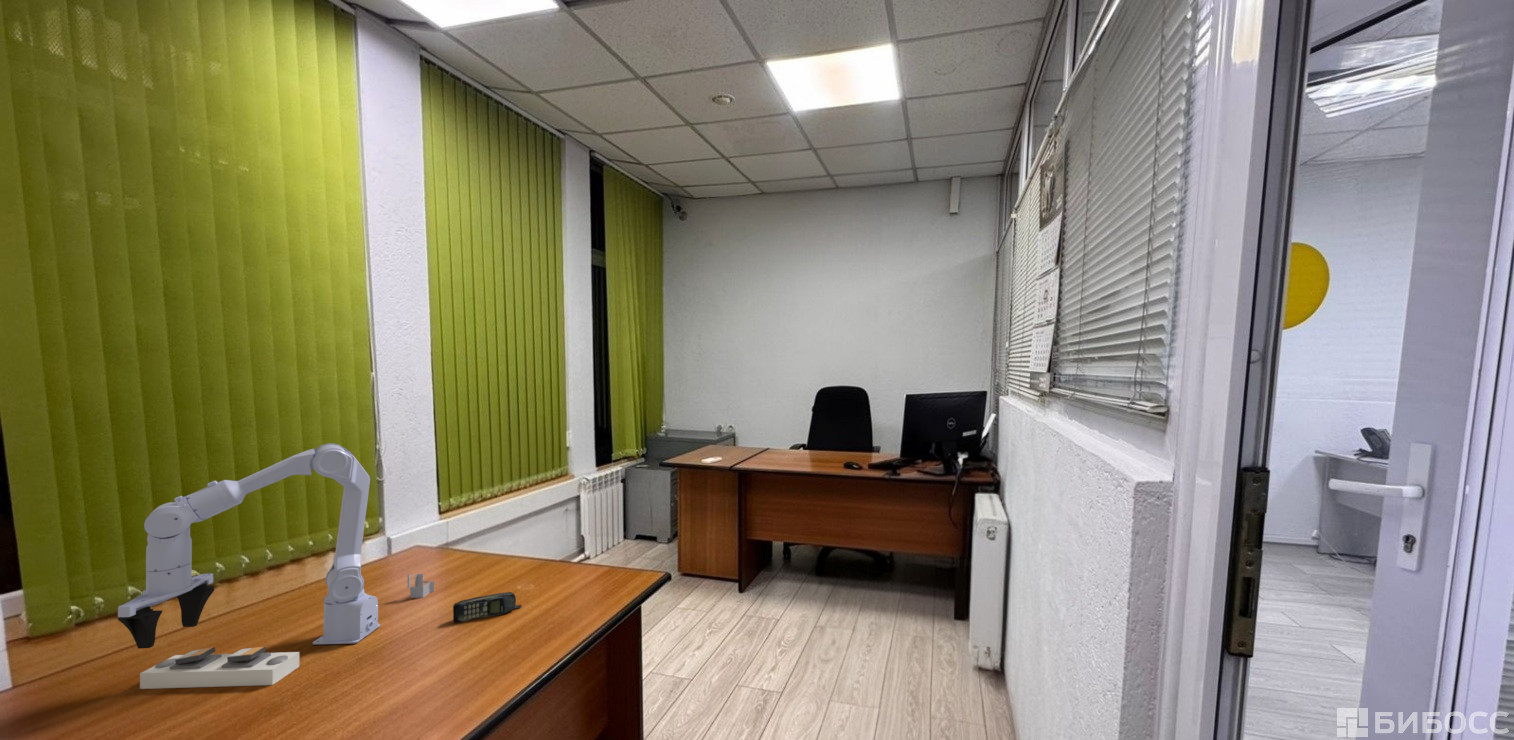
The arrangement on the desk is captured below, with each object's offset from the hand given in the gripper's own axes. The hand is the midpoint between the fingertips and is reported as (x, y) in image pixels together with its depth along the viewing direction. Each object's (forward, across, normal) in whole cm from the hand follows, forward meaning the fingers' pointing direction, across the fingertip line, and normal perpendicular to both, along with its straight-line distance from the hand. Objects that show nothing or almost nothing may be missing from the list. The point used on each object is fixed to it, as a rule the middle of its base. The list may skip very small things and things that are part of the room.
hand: (168, 636), depth 96 cm
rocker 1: (+5, -2, +3) cm, 6 cm away
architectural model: (+10, -40, +20) cm, 46 cm away
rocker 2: (+5, -2, +12) cm, 14 cm away
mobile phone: (+10, -25, +48) cm, 55 cm away
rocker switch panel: (+9, -2, +8) cm, 13 cm away
